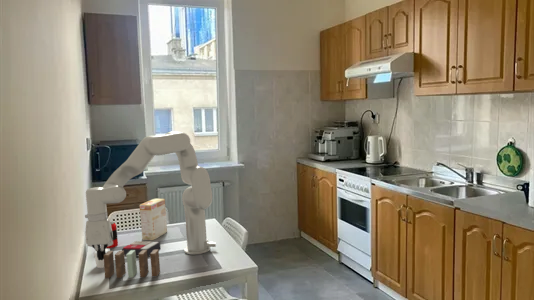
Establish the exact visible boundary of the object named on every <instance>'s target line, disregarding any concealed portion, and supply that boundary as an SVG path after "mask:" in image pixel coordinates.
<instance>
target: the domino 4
mask: <svg viewBox="0 0 534 300" xmlns="http://www.w3.org/2000/svg"><path fill="white" fill-rule="evenodd" d="M137 256H138V267H139V277H140V278H146V276H147V275H148V274H149V273H148V272H149V260H148V259H149V256H147V250H142V251H141V252H140V253H139V254H138V255H137ZM147 273H148V274H147Z"/></svg>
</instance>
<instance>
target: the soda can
mask: <svg viewBox="0 0 534 300" xmlns="http://www.w3.org/2000/svg"><path fill="white" fill-rule="evenodd" d="M110 223H111V227H112V233H113V240H112V241H113V245H111V246H108V247H107V249H113V248H116V247H118V246H119V240H118V239H119V238H118V232H117V231H118V229H117V228H118V227H117V224H116V223H115V222H113V221H110Z"/></svg>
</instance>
